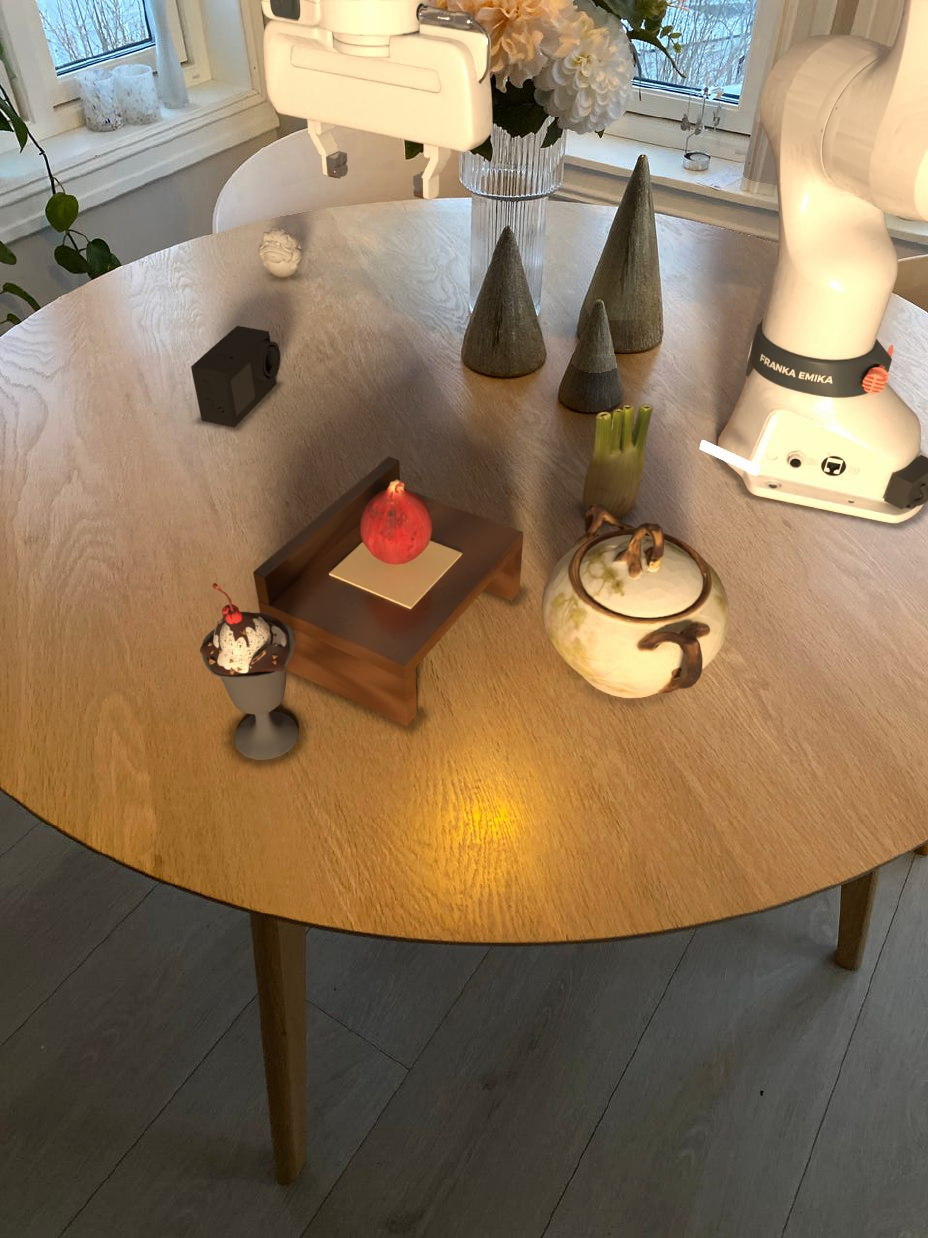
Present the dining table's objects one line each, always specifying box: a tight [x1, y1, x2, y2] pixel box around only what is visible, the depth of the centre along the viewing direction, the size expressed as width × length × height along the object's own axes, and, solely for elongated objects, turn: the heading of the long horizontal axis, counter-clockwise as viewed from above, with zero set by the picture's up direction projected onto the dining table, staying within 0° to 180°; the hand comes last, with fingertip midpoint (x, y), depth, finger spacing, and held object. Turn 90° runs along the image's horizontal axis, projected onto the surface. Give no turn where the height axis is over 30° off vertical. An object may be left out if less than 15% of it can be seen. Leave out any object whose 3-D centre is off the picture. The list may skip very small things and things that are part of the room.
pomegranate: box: [360, 479, 433, 565], centre depth 77 cm, size 6×6×8 cm
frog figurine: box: [257, 227, 303, 278], centre depth 135 cm, size 6×7×7 cm
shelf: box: [252, 455, 525, 728], centre depth 81 cm, size 14×19×10 cm
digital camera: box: [190, 325, 281, 428], centre depth 109 cm, size 10×5×7 cm, turn 161°
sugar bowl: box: [541, 504, 731, 699], centre depth 77 cm, size 20×15×15 cm
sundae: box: [199, 582, 299, 761], centre depth 70 cm, size 7×7×15 cm
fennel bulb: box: [581, 404, 654, 520], centre depth 93 cm, size 6×5×12 cm
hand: (380, 185), depth 83 cm, fingers open, 8 cm apart
